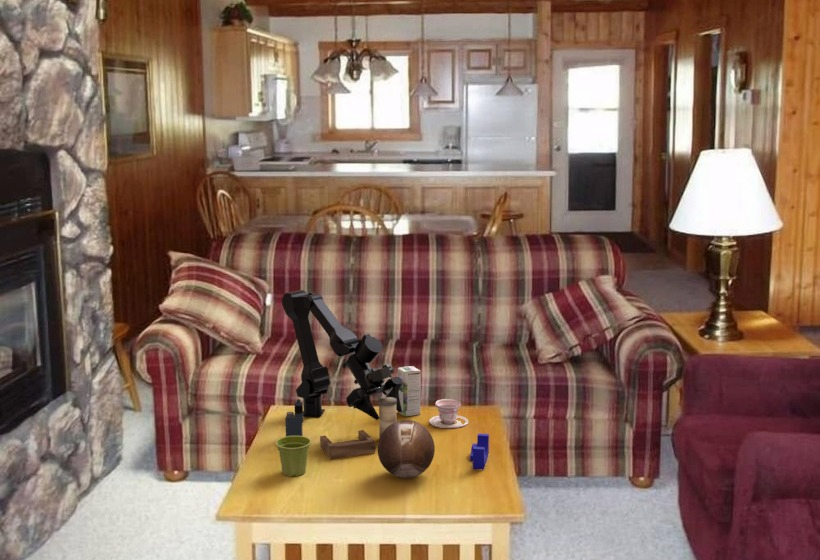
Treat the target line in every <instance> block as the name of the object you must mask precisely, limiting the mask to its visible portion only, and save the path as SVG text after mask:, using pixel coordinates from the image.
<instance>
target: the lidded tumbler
mask: <svg viewBox="0 0 820 560" xmlns="http://www.w3.org/2000/svg"><path fill="white" fill-rule="evenodd" d="M396 404H397V399H396V398H393V397H386V396H385V397H384V396H383V397H380V398H379V399H378V411H379V412H378V416H379V419H378V420H379V421H378V422H379V423H378V425H379V429H378V430H379V432H378V433H379V437H380V436H381V434H382V433H383V431H384V430H385V429H386V428H387V427H388V426H389V425H391V424H393V423H395V422H397V419H398V418H397V410H396Z"/></svg>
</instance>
